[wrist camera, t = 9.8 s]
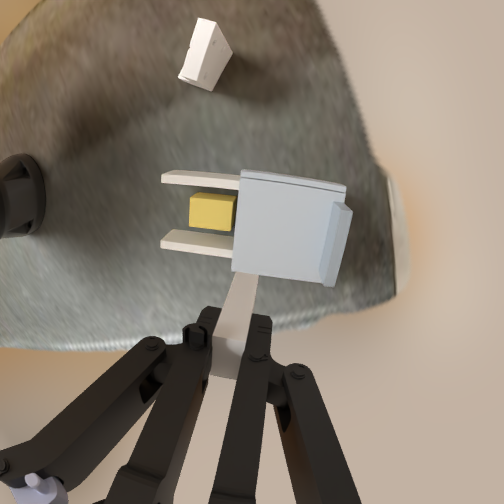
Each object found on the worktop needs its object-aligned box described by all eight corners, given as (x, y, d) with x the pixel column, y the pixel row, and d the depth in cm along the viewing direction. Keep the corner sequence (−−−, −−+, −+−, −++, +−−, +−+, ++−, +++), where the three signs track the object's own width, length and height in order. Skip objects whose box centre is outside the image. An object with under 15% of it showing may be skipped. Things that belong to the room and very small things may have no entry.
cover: (233, 263, 33) (225, 287, 28) (243, 169, 29) (235, 175, 24) (322, 275, 33) (330, 301, 28) (342, 184, 29) (356, 194, 23)
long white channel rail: (172, 235, 36) (160, 248, 32) (174, 169, 33) (161, 174, 29) (320, 255, 36) (325, 270, 32) (334, 189, 32) (342, 196, 28)
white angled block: (246, 19, 22) (216, 22, 17) (220, 85, 30) (188, 108, 25) (219, 11, 22) (181, 14, 17) (196, 76, 30) (160, 97, 25)
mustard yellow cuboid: (196, 218, 35) (189, 226, 32) (198, 191, 34) (190, 197, 31) (234, 222, 35) (230, 231, 32) (237, 195, 34) (233, 201, 30)
